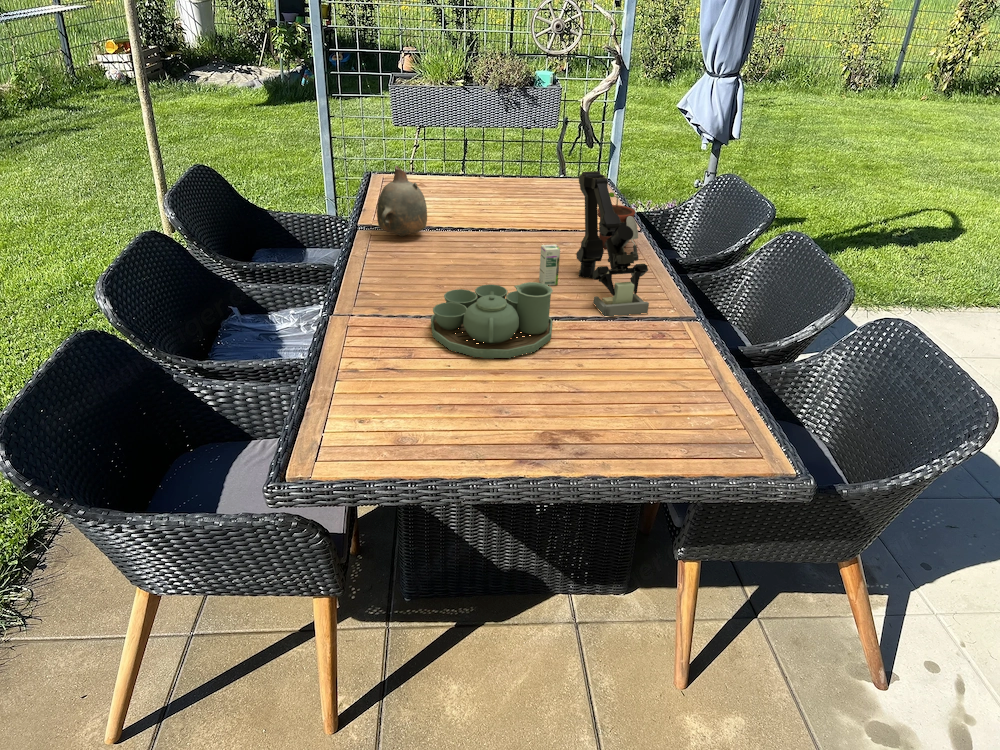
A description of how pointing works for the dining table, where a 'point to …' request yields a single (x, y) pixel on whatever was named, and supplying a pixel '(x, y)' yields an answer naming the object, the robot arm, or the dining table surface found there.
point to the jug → (401, 206)
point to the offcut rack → (621, 306)
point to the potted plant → (623, 219)
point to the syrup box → (549, 264)
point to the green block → (623, 292)
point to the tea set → (494, 320)
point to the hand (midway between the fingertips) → (625, 294)
